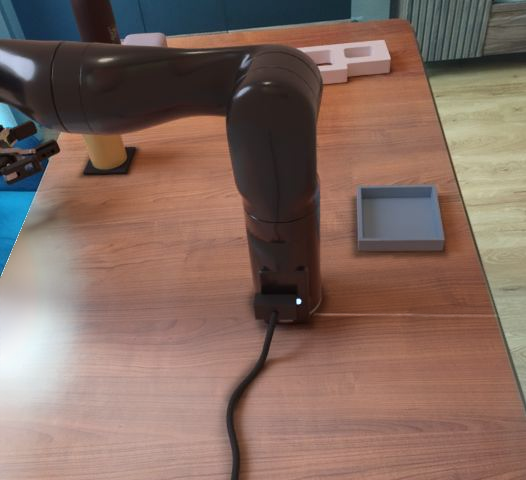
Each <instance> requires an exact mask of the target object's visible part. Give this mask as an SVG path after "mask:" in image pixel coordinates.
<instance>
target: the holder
mask: <svg viewBox="0 0 526 480" xmlns="http://www.w3.org/2000/svg"><path fill="white" fill-rule="evenodd" d="M296 48H297V49H299V50H301V51H303V52H304V53H305V54H307V55H308V56H309V57H310V58H311V59H312V60H313V61H314V62H315V63H316V64H317V66H318V68H319V70H320V72H321V75H322V79H323V85H329V84H330V85H331V84H341V83H342V84H343V83H347V82H348V77H349V78H350V77H357V76H358V77H359V76H367V75H368V76H369V75H381V74H389V73H390V71H391V60H392V58H391V55H390V52H389V49H388V45H387V43H386V41H385V40H384V39H377V40H368V41H357V42H347V43H346V42H345V43H336V44H325V45H315V46H305V47H304V46H303V47H296ZM319 64H320V65H319ZM321 64H326V65H321ZM327 64H329V65H327Z"/></svg>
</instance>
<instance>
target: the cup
mask: <svg viewBox="0 0 526 480" xmlns="http://www.w3.org/2000/svg"><path fill="white" fill-rule="evenodd" d="M81 137H82V139H83V143H84V145H85V148H86V151H87V154H88V157H89V159H90V160H91V163H92V165H93V166H94V167H95V168H97V169H102V170H107V169H113V168H116V167H118V166H120V165H122V164H123V163H124V162H125V161H126V159H127V153H126V150H125V147H126V146H125V143H124V140H123V136H122V135H112V136H100V135H87V134H81Z"/></svg>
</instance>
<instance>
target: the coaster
mask: <svg viewBox="0 0 526 480" xmlns="http://www.w3.org/2000/svg"><path fill="white" fill-rule="evenodd" d="M136 149H137V148H136V146H125V150H126V153H127V159H126V161H125V162H124V163H123V164H122V165H120V166H118V167H116V168H113V169H107V170H102V169H97V168H95V167H94V166H93V165H92V163H91V160H90V158H89V159H88V161H87V163H86V165H85V168H84V170H83V172H82V174H83V175H84V176H92V175H93V176H94V175H96V176H97V175H99V176H100V175H126V174H127V173H128V171H129V168H130V165H131V162H132V160H133V158H134V154H135V152H136Z"/></svg>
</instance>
